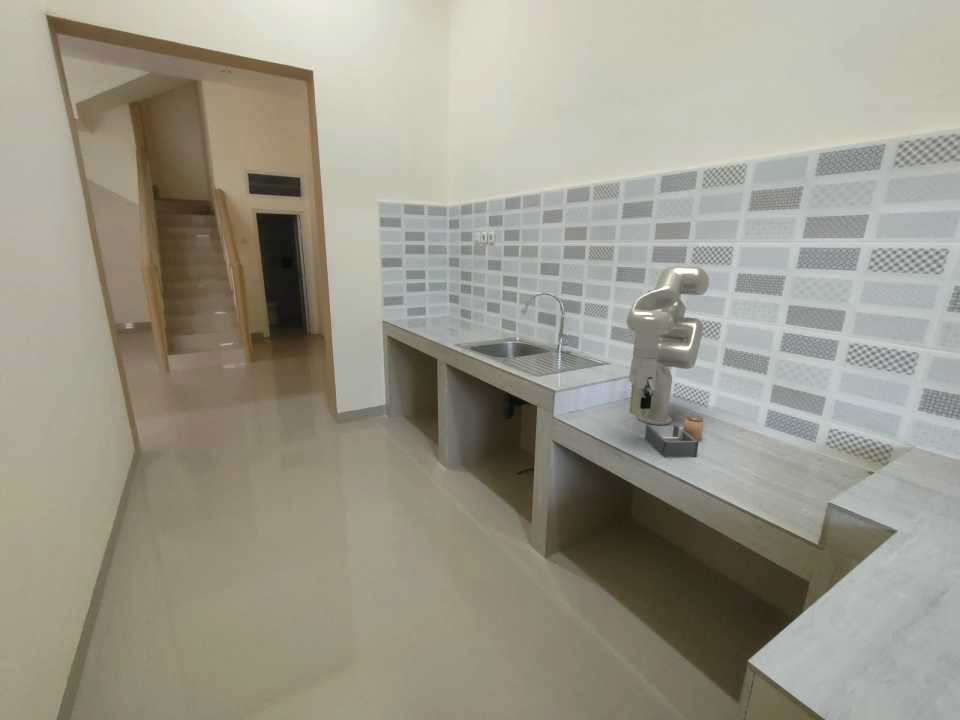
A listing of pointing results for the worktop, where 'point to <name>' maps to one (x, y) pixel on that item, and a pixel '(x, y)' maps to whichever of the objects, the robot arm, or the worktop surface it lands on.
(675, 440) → the bar
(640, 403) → the skincare box
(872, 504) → the worktop surface
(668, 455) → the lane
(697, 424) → the jar
